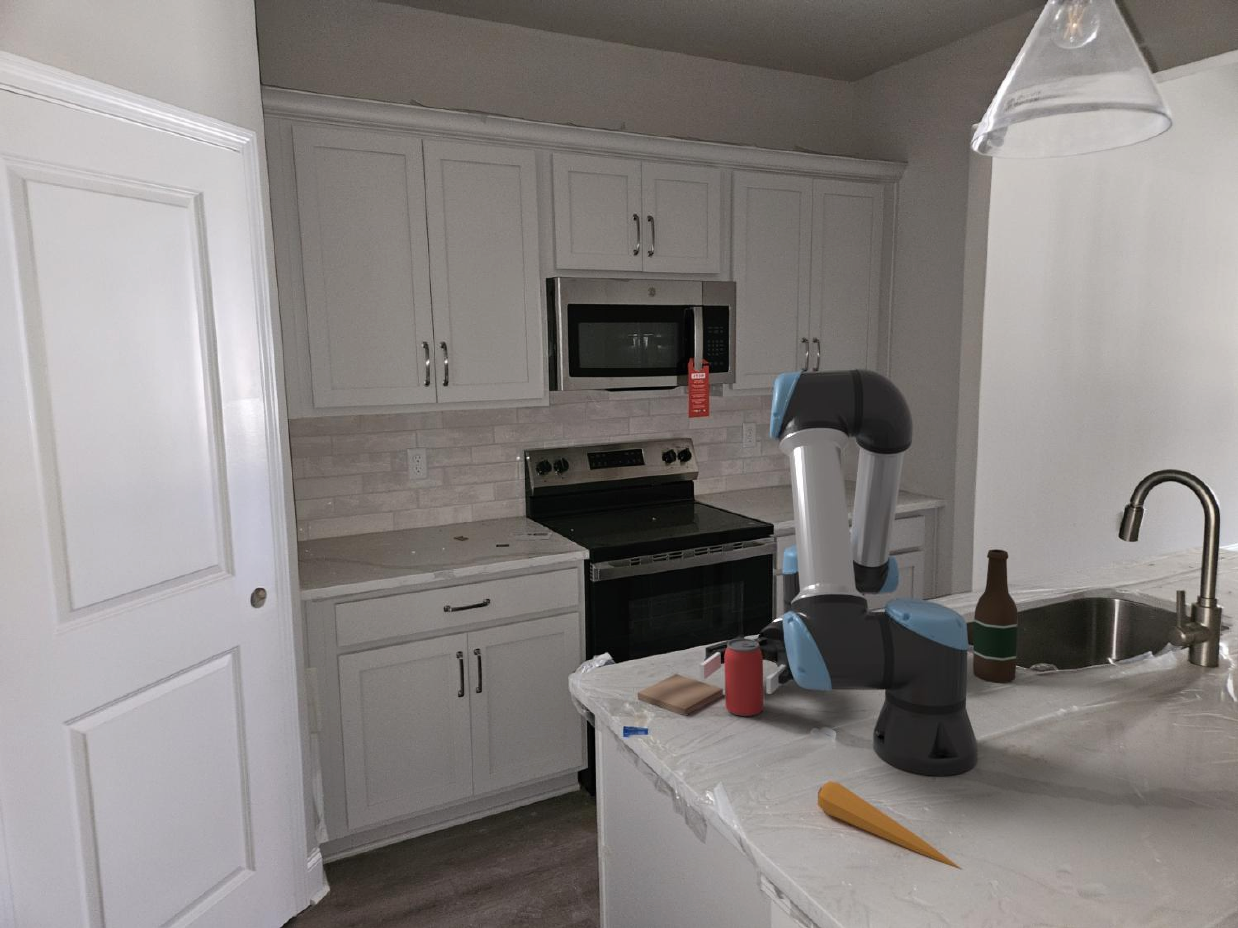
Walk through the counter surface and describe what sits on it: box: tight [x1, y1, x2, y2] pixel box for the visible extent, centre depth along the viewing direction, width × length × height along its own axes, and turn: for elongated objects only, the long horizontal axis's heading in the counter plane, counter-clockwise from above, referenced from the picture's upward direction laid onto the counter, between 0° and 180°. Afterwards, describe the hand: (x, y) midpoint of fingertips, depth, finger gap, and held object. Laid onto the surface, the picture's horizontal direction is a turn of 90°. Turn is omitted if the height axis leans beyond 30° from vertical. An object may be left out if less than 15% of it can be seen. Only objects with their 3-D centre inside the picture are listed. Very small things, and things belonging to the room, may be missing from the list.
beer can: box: [724, 638, 764, 717], centre depth 143 cm, size 7×7×12 cm
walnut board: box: [637, 673, 724, 716], centre depth 150 cm, size 11×11×1 cm
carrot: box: [817, 780, 964, 871], centre depth 106 cm, size 20×4×4 cm, turn 43°
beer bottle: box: [972, 548, 1019, 684], centre depth 152 cm, size 8×8×24 cm
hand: (734, 678), depth 140 cm, fingers open, 12 cm apart
